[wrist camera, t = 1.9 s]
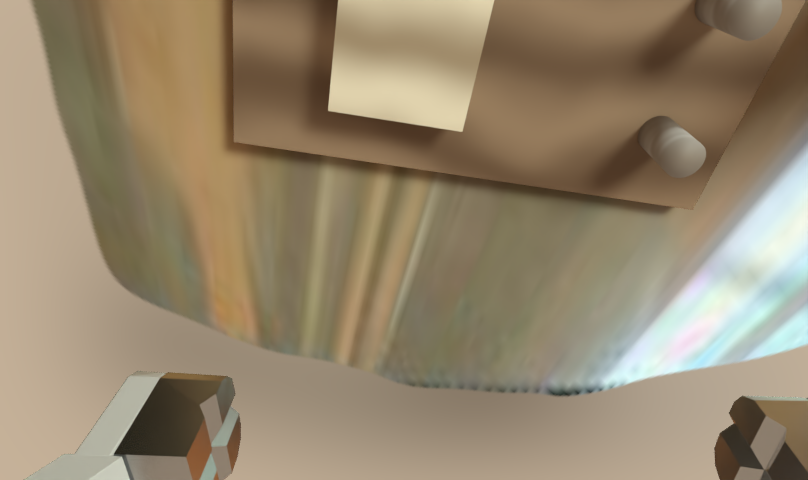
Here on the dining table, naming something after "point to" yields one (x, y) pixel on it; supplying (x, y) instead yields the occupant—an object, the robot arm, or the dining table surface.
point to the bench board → (534, 92)
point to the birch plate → (408, 59)
